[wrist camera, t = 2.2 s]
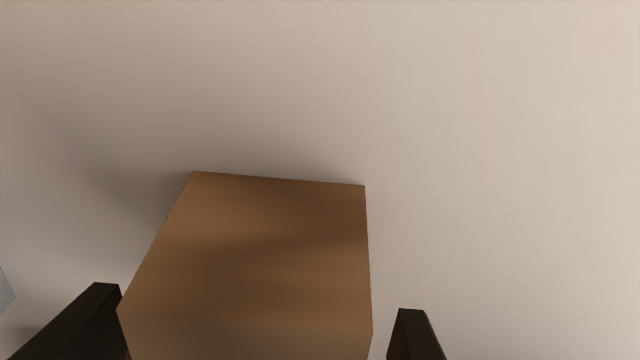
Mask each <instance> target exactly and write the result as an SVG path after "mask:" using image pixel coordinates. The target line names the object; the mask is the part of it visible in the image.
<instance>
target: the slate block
mask: <svg viewBox="0 0 640 360" xmlns="http://www.w3.org/2000/svg"><path fill="white" fill-rule="evenodd" d="M14 297H15V294H14V292H13V290H12V289H11V287H10V285H9V283H8V281H7V279H6V277H5V275H4V273H3V271H2V269H1V268H0V314H1V313H2V312H3V311H4V309H5V308H6V307H7V306H8V305H9V303H10V302H11V301H12V300H13V299H14Z"/></svg>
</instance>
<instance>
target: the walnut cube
mask: <svg viewBox="0 0 640 360" xmlns="http://www.w3.org/2000/svg"><path fill="white" fill-rule="evenodd" d="M116 312H117V315H118V318H119V321H120V324H121V327H122V330H123V334H124V337H125V340H126V343H127V346H128V349H129V352H130V355H131V358H132V360H367V357H368V353H369V348H370V344H371V340H372V335H373V323H372V306H371V288H370V270H369V252H368V234H367V216H366V199H365V186H362V185H350V184H339V183H327V182H316V181H304V180H293V179H281V178H270V177H258V176H247V175H235V174H224V173H212V172H200V171H193V172H192V174H191V176H190V178H189V179H188V181H187V183H186V185H185V187H184V188H183V190H182V192H181V194H180V196H179V197H178V199H177V201H176V203H175V205H174V206H173V208H172V210H171V212H170V213H169V215H168V217H167V219H166V221H165V222H164V224H163V226H162V228H161V230H160V231H159V233H158V235H157V237H156V239H155V240H154V242H153V244H152V246H151V247H150V249H149V251H148V253H147V255H146V256H145V258H144V260H143V262H142V264H141V265H140V267H139V269H138V271H137V272H136V274H135V276H134V278H133V280H132V281H131V283H130V285H129V287H128V289H127V290H126V292H125V294H124V296H123V298H122V299H121V301H120V303H119V305H118V306H117V308H116Z"/></svg>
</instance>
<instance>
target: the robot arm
mask: <svg viewBox="0 0 640 360" xmlns="http://www.w3.org/2000/svg"><path fill="white" fill-rule="evenodd" d="M121 299H122V295H121V291H120V288H119V285H118V284H112V283H100V282H94V283H93V284H92V285H91V286H89V287H88V288H87V289H86V290H85V291H84V292H83V293H82V294H80V295H79V296H78V297H77V298H76V299H75V300H74V301H73V302H72V303H70V304H69V305H68V306H67V307H66V308H65V309H64V310H63V311H62V312H61V313H59V314H58V315H57V316H56V317H55V318H54V319H53V320H52V321H51V322H49V323H48V324H47V325H46V326H45V327H44V328H43V329H42V330H41V331H39V332H38V333H37V334H36V335H35V336H34V337H33V338H31V339H30V340H29V341H28V342H27V343H26V344H25V345H23V346H22V347H21V348H20V349H19V350H18V351H16V352H15V353H14V354H13V355H12V356H11V357H10V358H8V359H7V360H124V359H125V356H126V353H127V350H128V346H127V343H126V340H125V337H124V334H123V330H122V327H121V324H120V321H119V318H118V315H117V312H116V308H117V306H118V305H119V303H120V301H121ZM386 359H387V360H447V358H446V356H445V354H444V352H443V350H442V348H441V346H440V344H439V342H438V340H437V337H436V335H435V333H434V331H433V329H432V326H431V324H430V322H429V319H428V317H427V314H426V313H425V312H424V311H423V310H415V309H403V308H399V310H398V314H397V317H396V321H395V325H394V329H393V332H392V336H391V340H390V343H389V347H388V351H387V355H386Z"/></svg>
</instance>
